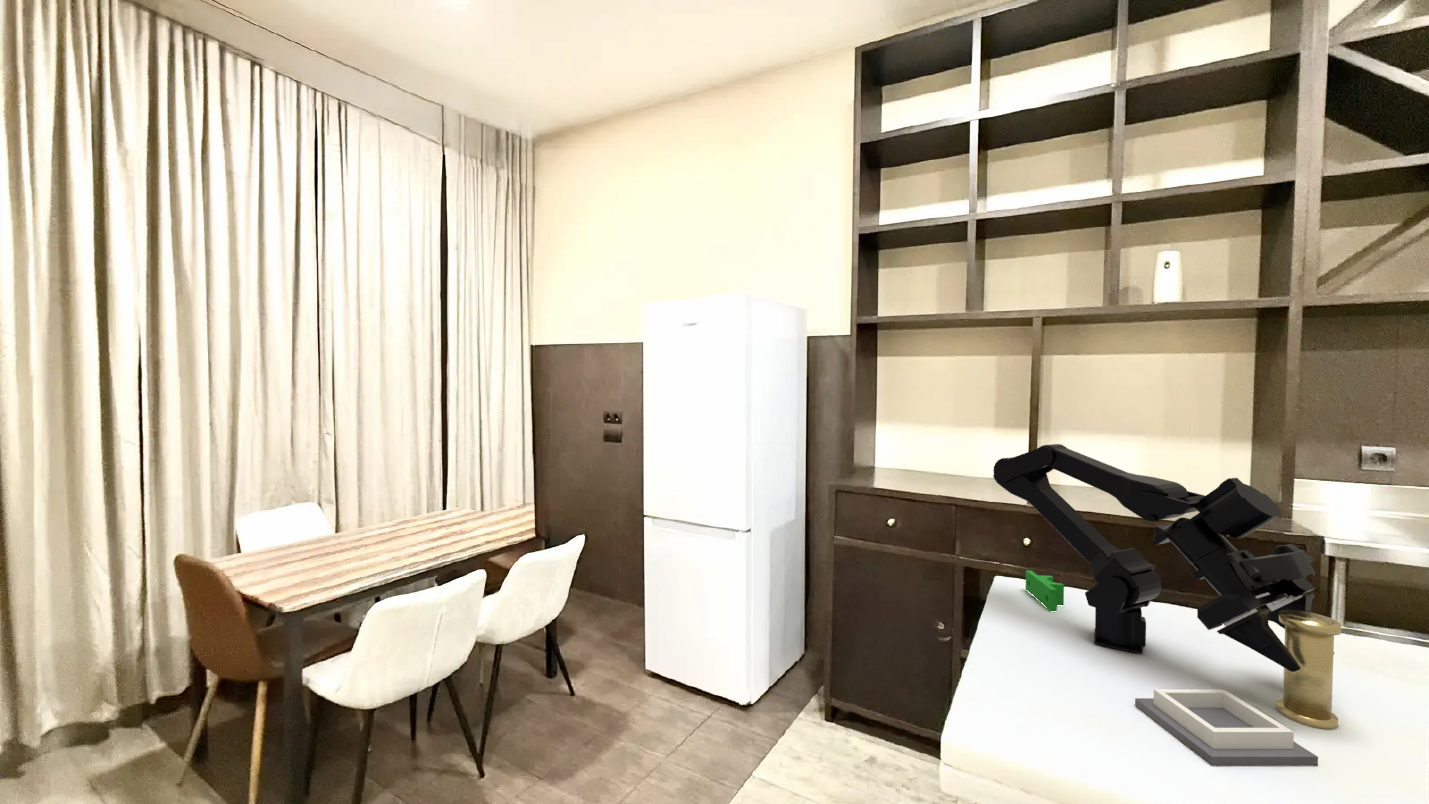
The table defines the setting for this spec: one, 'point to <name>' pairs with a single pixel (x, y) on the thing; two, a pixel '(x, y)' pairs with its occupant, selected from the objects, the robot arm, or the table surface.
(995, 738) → the table surface
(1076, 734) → the table surface
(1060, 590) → the green notched block
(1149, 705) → the socket plate
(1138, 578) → the robot arm
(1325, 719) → the brass fitting
